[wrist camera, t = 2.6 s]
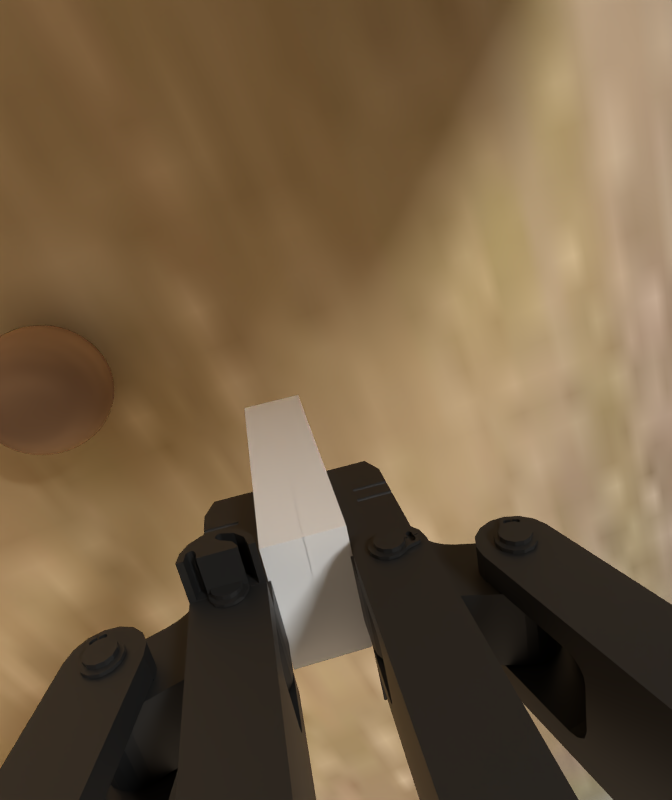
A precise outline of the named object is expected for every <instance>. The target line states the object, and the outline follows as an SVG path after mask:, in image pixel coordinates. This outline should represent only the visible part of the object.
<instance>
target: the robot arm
mask: <svg viewBox="0 0 672 800" xmlns="http://www.w3.org/2000/svg"><path fill="white" fill-rule="evenodd" d="M244 409H245V419H246V428H247V438H248V447H249V457H250V467H251V476H252V486H253V492H251V493H247V494H243V495H239V496H235V497H231V498H228V499H224V500H220V501H216V502H214V503H213V505H212V506H211V508H210V509H209V511H208V512H207V514H206V515H205V520H204V535H203V536H201V537H199V538H198V539H196V540H195V541H193V542H191V543H190V544H188V545H187V547H186V548H185V549H184V550H183V551H182V552H181V553H180V554H179V556H178V559H177V561H176V567H177V570H178V572H179V575H180V578H181V581H182V584H183V586H184V589H185V592H186V595H187V597H188V600H189V603H190V606H189V612H188V613H187V614H186V615H185V616H183V617H182V618H181V619H180V620H179V621H177V622H176V623H174V624H172V625H171V626H169V627H168V628H166V629H164V630H162V631H160V632H158V633H156V634H154V635H152V636H151V637H149V638H147V639H145V637H144V635H143V632H141V631H139V630H137V629H136V628H134V627H116V628H113V629H109V630H105V631H103V632H101V633H99V634H97V635H95V636H93V637H91V638H89V639H87V640H86V641H85V642H83V643H82V644H81V645H80V646H78V647H77V648H76V649H75V650H74V651H73V652H72V653H71V654H70V656H69V657H68V658H67V659H66V661H65V662H64V663H63V665H62V666H61V668H60V670H59V671H58V673H57V675H56V676H55V678H54V680H53V681H52V683H51V685H50V686H49V688H48V690H47V691H46V693H45V695H44V697H43V698H42V700H41V702H40V703H39V705H38V707H37V708H36V710H35V712H34V713H33V715H32V717H31V718H30V720H29V722H28V723H27V725H26V727H25V728H24V730H23V732H22V733H21V735H20V737H19V738H18V740H17V742H16V743H15V745H14V747H13V748H12V750H11V752H10V753H9V755H8V757H7V758H6V760H5V762H4V764H3V765H2V767H1V769H0V800H316V796H315V790H314V783H313V777H312V771H311V764H310V758H309V751H308V745H307V739H306V732H305V726H304V720H303V713H302V707H301V701H300V694H299V690H298V687H297V684H296V680H295V677H294V673H293V668H294V669H298V668H301V667H304V666H308V665H311V664H315V663H318V662H321V661H325V660H328V659H331V658H335V657H338V656H342V655H345V654H348V653H352V652H355V651H359V650H362V649H365V648H369V647H372V645H373V649H374V653H375V658H376V663H377V667H378V672H379V677H380V681H381V686H382V690H383V695H384V700H387V699H388V702H389V705H390V709H391V712H392V715H393V718H394V721H395V724H396V727H397V730H398V734H399V737H400V740H401V743H402V746H403V749H404V752H405V755H406V758H407V762H408V765H409V768H410V771H411V774H412V777H413V780H414V783H415V787H416V790H417V793H418V796H419V799H420V800H578V798H577V796H576V795H575V793H574V791H573V790H572V788H571V786H570V784H569V783H568V781H567V779H566V777H565V776H564V774H563V772H562V771H561V769H560V767H559V765H558V764H557V762H556V760H555V758H554V757H553V755H552V753H551V752H550V750H549V748H548V746H547V745H546V743H545V741H544V739H543V738H542V736H541V734H540V732H539V731H538V729H537V727H536V726H535V724H534V722H533V720H532V719H531V717H530V715H529V713H528V712H527V710H526V708H525V707H524V705H525V706H526V707H527V708H528V709H529V710H530V711H531V712H532V713H533V714H534V715H535V716H536V717H537V718H538V719H539V721H540V722H541V723H542V724H543V725H544V726H545V727H546V728H547V729H548V730H549V731H550V732H551V733H552V734H553V736H554V737H555V738H556V739H557V740H558V741H559V742H560V743H561V744H562V745H563V746H564V747H565V748H566V749H567V750H568V752H569V753H570V754H571V755H572V756H573V757H574V758H575V759H576V760H577V761H578V762H579V763H580V764H581V765H582V767H583V768H584V769H585V770H586V771H587V772H588V773H589V774H590V775H591V776H592V777H593V778H594V779H595V780H596V781H597V783H598V784H599V785H600V786H601V787H602V788H603V789H604V790H605V791H606V792H607V793H608V794H609V795H610V796H611V798H612V799H613V800H672V605H671V604H670V603H668V602H667V601H665V600H664V599H662V598H660V597H659V596H657V595H656V594H654V593H653V592H651V591H650V590H648V589H646V588H645V587H643V586H642V585H640V584H639V583H637V582H636V581H634V580H632V579H631V578H629V577H628V576H626V575H625V574H623V573H622V572H620V571H618V570H617V569H615V568H614V567H612V566H611V565H609V564H608V563H606V562H604V561H603V560H601V559H600V558H598V557H597V556H595V555H594V554H592V553H590V552H589V551H587V550H586V549H584V548H583V547H581V546H580V545H578V544H576V543H575V542H573V541H572V540H570V539H569V538H567V537H566V536H564V535H562V534H561V533H559V532H558V531H556V530H555V529H553V528H552V527H550V526H548V525H547V524H545V523H543V522H540V521H538V520H536V519H533V518H527V517H521V516H512V517H502V518H499V519H495V520H492V521H490V522H488V523H487V524H485V525H484V526H482V527H481V528H480V529H479V531H478V533H477V534H476V536H475V541H476V544H458V545H449V544H439V543H434V542H431V541H428V539H427V537H426V536H425V535H424V534H423V533H422V532H421V531H420V530H419V529H416V528H414V527H411V526H410V524H409V522H408V521H407V519H406V517H405V515H404V513H403V512H402V510H401V508H400V506H399V504H398V503H397V501H396V499H395V497H394V495H393V494H392V493H391V490H390V488H389V486H388V485H387V483H386V481H385V479H384V477H383V476H382V474H381V472H380V470H379V469H378V468H376V467H374V466H373V465H371V464H369V463H367V462H365V461H363V462H359V463H355V464H351V465H348V466H344V467H340V468H336V469H332V470H328V471H326V469H325V466H324V464H323V461H322V458H321V456H320V453H319V450H318V447H317V445H316V442H315V439H314V437H313V434H312V431H311V428H310V426H309V423H308V420H307V417H306V415H305V412H304V409H303V407H302V404H301V401H300V398H299V396H298V395H295V396H291V397H287V398H283V399H279V400H275V401H271V402H267V403H263V404H259V405H254V406H250V407H246V408H244ZM371 642H372V643H371ZM292 664H293V667H292ZM522 702H523V703H524V705H523V703H522Z"/></svg>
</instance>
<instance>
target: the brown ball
mask: <svg viewBox="0 0 672 800" xmlns="http://www.w3.org/2000/svg"><path fill="white" fill-rule="evenodd" d="M113 398H114V383H113V377H112V374H111V370H110V368H109V366H108V363H107V362H106V360H105V358H104V357H103V355H102V354H101V353H100V352H99V350H98V349H97V348H96V347H95V346H94V345H93V344H92V343H90V342H89V341H88V340H86V339H85V338H83V337H82V336H80V335H78V334H76V333H74V332H72V331H69V330H66V329H63V328H60V327H55V326H47V325H35V326H28V327H22V328H18V329H15V330H12V331H10V332H8V333H6V334H4V335H2V336H0V443H1V444H3V445H5V446H7V447H9V448H11V449H13V450H16V451H19V452H23V453H28V454H38V455H47V454H56V453H61V452H64V451H68V450H70V449H73V448H75V447H77V446H79V445H81V444H83V443H84V442H86V441H87V440H89V439H90V438H91V437H92V436H93V435H95V434H96V433H97V431H98V430H99V429H100V428H101V427H102V425H103V424H104V422H105V421H106V419H107V417H108V415H109V413H110V410H111V407H112V404H113Z"/></svg>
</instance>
